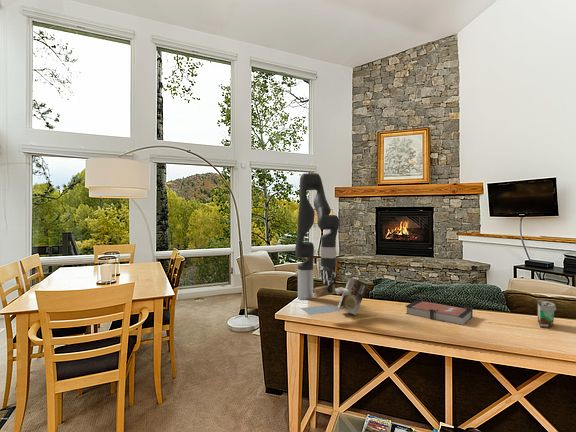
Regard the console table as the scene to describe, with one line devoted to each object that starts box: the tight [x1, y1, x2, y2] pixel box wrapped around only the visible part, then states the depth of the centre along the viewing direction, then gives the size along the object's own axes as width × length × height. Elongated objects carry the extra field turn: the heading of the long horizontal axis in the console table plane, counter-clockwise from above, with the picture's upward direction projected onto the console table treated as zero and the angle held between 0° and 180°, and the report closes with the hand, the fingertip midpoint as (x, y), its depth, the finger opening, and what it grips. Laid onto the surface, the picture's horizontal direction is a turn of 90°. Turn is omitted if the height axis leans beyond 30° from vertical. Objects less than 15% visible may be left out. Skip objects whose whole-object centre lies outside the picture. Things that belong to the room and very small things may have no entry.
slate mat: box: [300, 304, 342, 316], centre depth 172 cm, size 12×18×1 cm, turn 112°
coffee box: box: [337, 276, 368, 316], centre depth 165 cm, size 9×6×16 cm
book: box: [405, 298, 474, 326], centre depth 163 cm, size 26×18×5 cm
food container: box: [537, 299, 557, 329], centre depth 148 cm, size 12×6×10 cm, turn 148°
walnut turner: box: [313, 284, 349, 299], centre depth 160 cm, size 16×7×4 cm, turn 111°
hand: (328, 292), depth 160 cm, fingers closed on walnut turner, 3 cm apart
